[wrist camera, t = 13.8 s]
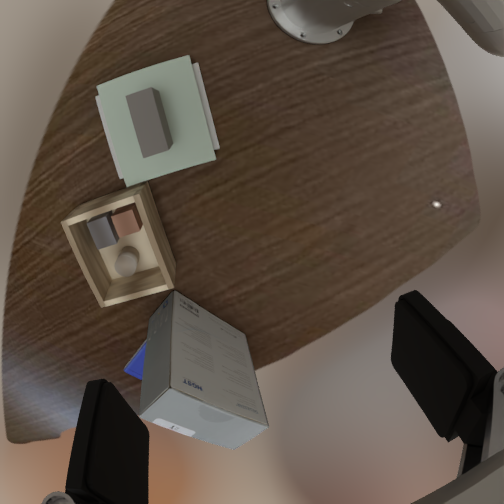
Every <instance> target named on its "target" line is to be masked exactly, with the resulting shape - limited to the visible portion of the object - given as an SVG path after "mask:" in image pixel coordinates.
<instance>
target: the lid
mask: <svg viewBox="0 0 504 504" xmlns="http://www.w3.org/2000/svg"><path fill="white" fill-rule="evenodd" d="M97 89H98V93H99V97H100V100H101V104H102V108H103V112H104V115H105V119H106V122H107V126H108V129H109V133H110V136H111V139H112V143H113V146H114V149H115V153H116V156H117V159H118V162H119V165H120V168H121V171H122V174H123V178H124V181H125V183H126V186H127V187H129V186H132V185H134V184H137V183H140V182H143V181H146V180H150V179H153V178H156V177H159V176H162V175H165V174H168V173H172V172H175V171H178V170H181V169H185V168H188V167H192V166H195V165H199V164H202V163H206V162H209V161H213V160H216V157H215V153H214V149H213V145H212V141H211V138H210V134H209V130H208V126H207V122H206V118H205V115H204V111H203V107H202V103H201V99H200V95H199V91H198V87H197V84H196V80H195V76H194V72H193V68H192V64H191V60H190V56H189V55H187V56H183V57H180V58H176V59H173V60H169V61H166V62H162V63H159V64H156V65H153V66H150V67H147V68H144V69H141V70H138V71H135V72H132V73H129V74H126V75H124V76H121V77H118V78H116V79H113V80H110V81H108V82H105V83H103V84H100V85H98V86H97Z"/></svg>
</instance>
